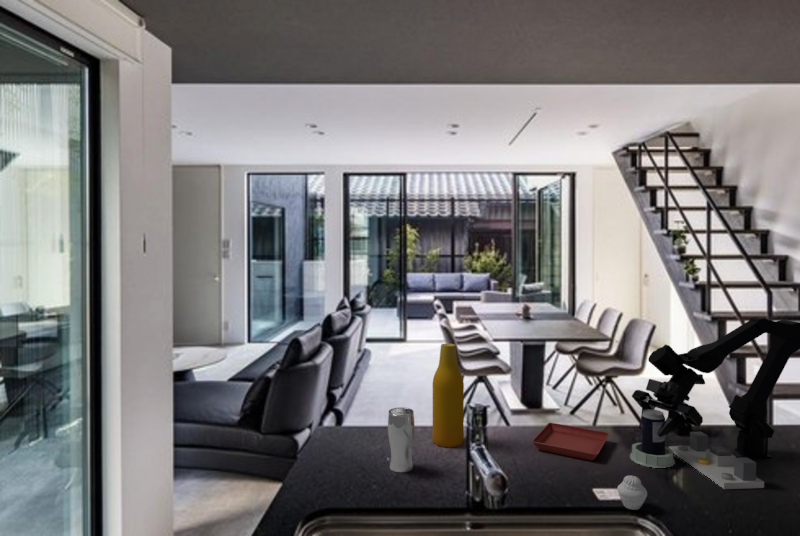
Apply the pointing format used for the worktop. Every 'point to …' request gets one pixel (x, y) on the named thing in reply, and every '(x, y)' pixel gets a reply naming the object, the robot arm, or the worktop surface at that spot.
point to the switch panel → (718, 464)
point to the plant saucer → (570, 441)
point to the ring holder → (652, 457)
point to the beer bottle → (448, 400)
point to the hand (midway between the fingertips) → (649, 432)
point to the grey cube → (720, 451)
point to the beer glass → (401, 438)
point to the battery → (684, 429)
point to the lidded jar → (632, 492)
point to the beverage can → (652, 432)
